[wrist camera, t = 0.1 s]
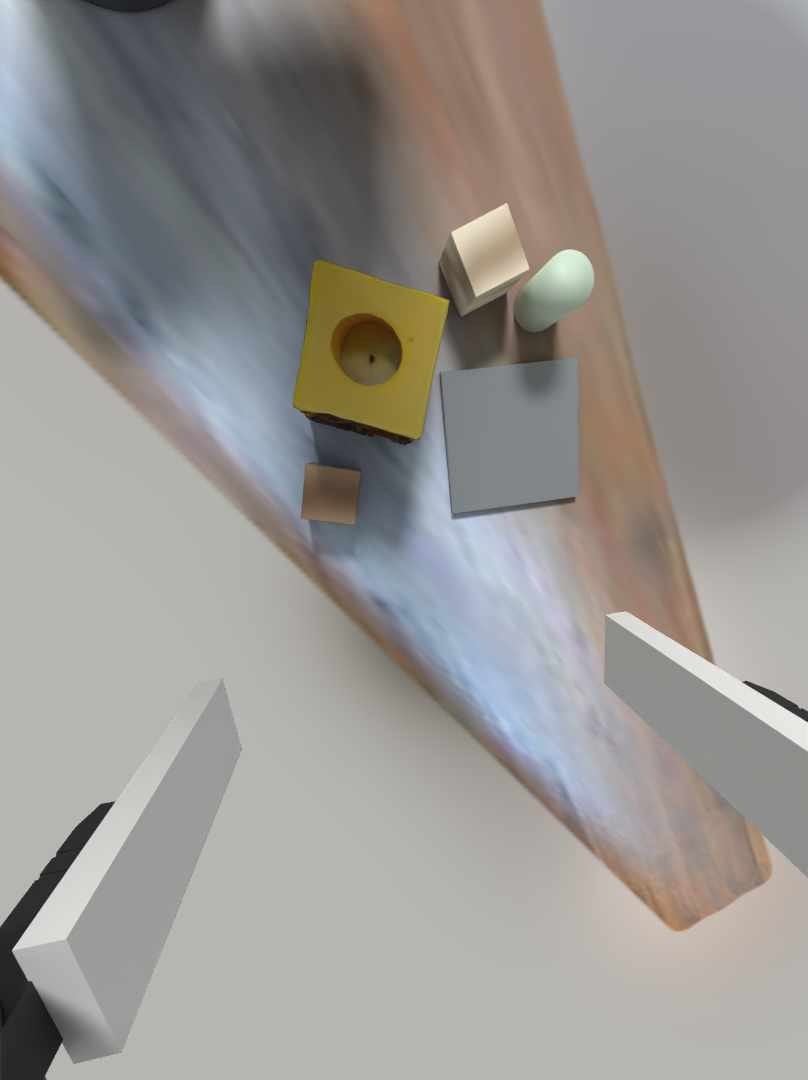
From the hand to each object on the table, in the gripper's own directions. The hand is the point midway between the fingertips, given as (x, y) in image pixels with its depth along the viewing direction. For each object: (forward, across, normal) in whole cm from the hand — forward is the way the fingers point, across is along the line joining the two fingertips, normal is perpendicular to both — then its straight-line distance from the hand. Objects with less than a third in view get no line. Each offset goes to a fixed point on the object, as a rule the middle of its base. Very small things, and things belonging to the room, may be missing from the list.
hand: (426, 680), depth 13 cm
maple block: (+28, +12, +22) cm, 37 cm away
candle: (+28, +1, +14) cm, 31 cm away
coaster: (+28, +15, +7) cm, 32 cm away
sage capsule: (+28, +18, +19) cm, 38 cm away
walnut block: (+28, -4, +4) cm, 29 cm away
